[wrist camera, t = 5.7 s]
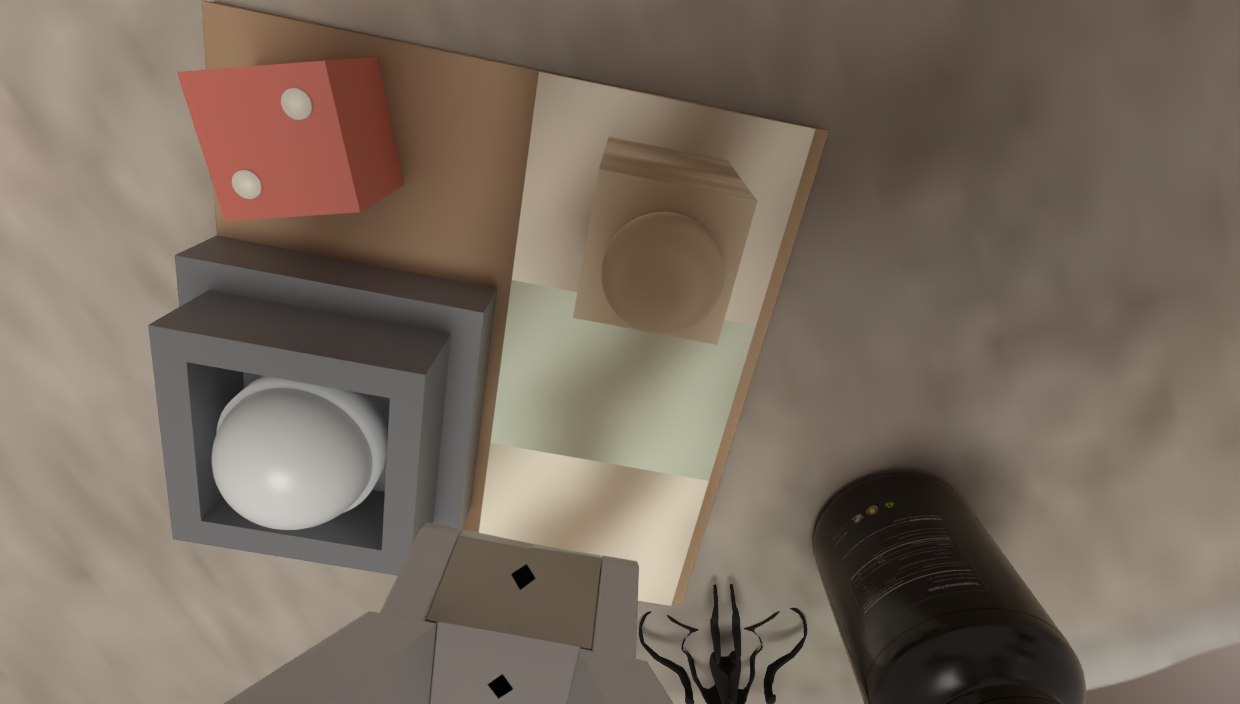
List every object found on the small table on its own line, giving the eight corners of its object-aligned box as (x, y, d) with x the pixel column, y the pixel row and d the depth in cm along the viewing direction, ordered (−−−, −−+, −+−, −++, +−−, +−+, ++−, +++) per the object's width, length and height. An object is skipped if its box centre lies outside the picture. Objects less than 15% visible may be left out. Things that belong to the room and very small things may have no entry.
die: (377, 56, 21) (322, 60, 17) (404, 184, 23) (358, 213, 19) (255, 66, 21) (174, 72, 18) (289, 192, 23) (223, 222, 19)
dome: (406, 364, 23) (352, 440, 19) (398, 486, 25) (348, 580, 21) (251, 336, 23) (160, 407, 18) (257, 463, 25) (177, 553, 21)
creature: (636, 566, 32) (643, 710, 34) (634, 636, 27) (643, 803, 29) (802, 561, 32) (801, 707, 33) (832, 632, 27) (830, 801, 28)
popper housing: (500, 282, 25) (462, 351, 20) (473, 497, 29) (436, 603, 24) (226, 231, 24) (108, 286, 19) (239, 458, 29) (145, 556, 23)
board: (824, 129, 22) (830, 132, 22) (681, 594, 31) (682, 607, 30) (213, 2, 21) (198, 0, 20) (243, 522, 30) (233, 534, 29)
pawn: (727, 160, 22) (776, 226, 14) (698, 274, 24) (728, 387, 16) (608, 136, 22) (592, 189, 14) (587, 253, 24) (563, 357, 16)
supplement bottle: (992, 549, 30) (1197, 845, 19) (850, 610, 31) (963, 913, 21) (931, 438, 27) (1125, 701, 16) (781, 510, 29) (867, 792, 18)
